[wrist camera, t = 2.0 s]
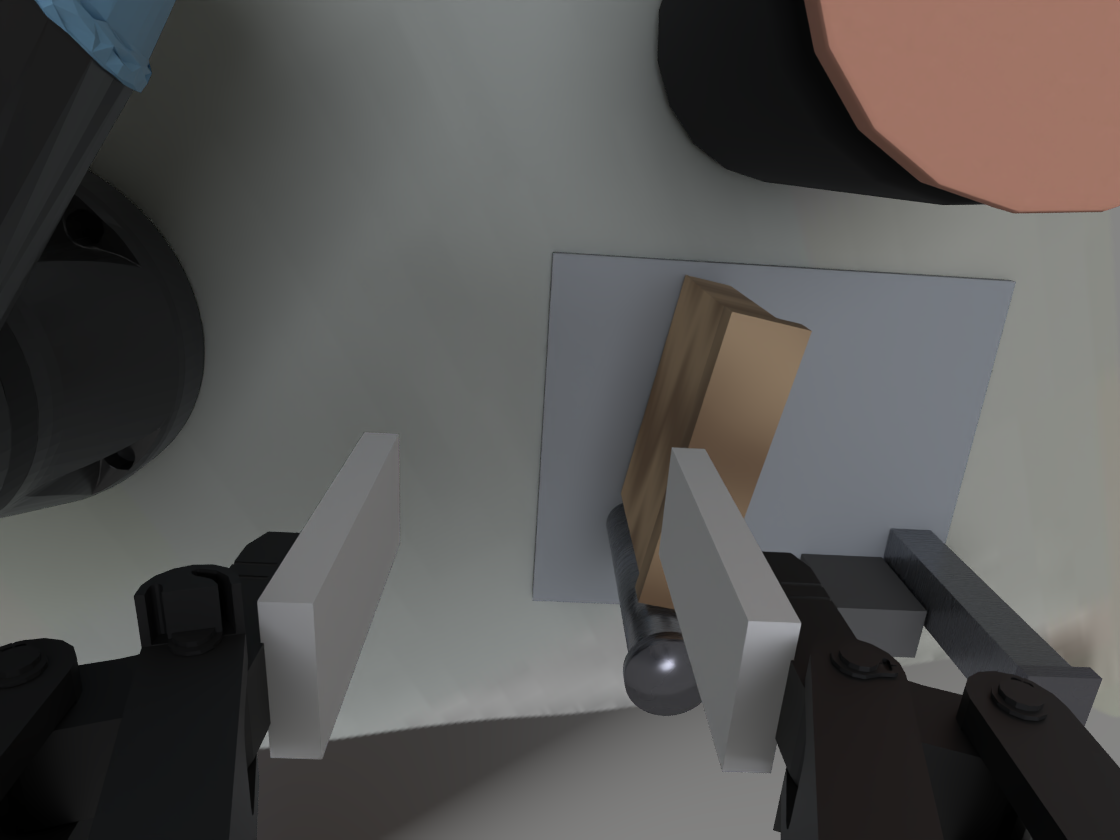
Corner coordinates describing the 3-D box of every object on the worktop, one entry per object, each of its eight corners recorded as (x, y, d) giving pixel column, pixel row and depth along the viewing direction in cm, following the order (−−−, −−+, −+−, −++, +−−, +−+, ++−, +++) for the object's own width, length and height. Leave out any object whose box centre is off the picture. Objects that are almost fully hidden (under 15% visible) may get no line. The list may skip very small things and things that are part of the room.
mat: (532, 595, 37) (532, 600, 37) (553, 251, 32) (553, 253, 31) (921, 611, 38) (925, 616, 38) (1010, 280, 32) (1015, 281, 32)
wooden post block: (668, 503, 35) (708, 616, 26) (614, 492, 35) (638, 602, 26) (739, 283, 31) (811, 331, 23) (680, 268, 31) (732, 311, 23)
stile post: (869, 572, 37) (1005, 745, 26) (882, 518, 36) (1028, 676, 25) (920, 574, 37) (1076, 747, 26) (933, 521, 36) (1102, 679, 25)
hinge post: (597, 545, 36) (620, 714, 25) (601, 490, 35) (629, 640, 24) (657, 548, 37) (707, 717, 26) (664, 493, 36) (719, 644, 25)
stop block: (790, 591, 38) (826, 654, 33) (798, 549, 37) (836, 607, 32) (868, 594, 38) (914, 657, 33) (877, 553, 37) (927, 611, 32)
